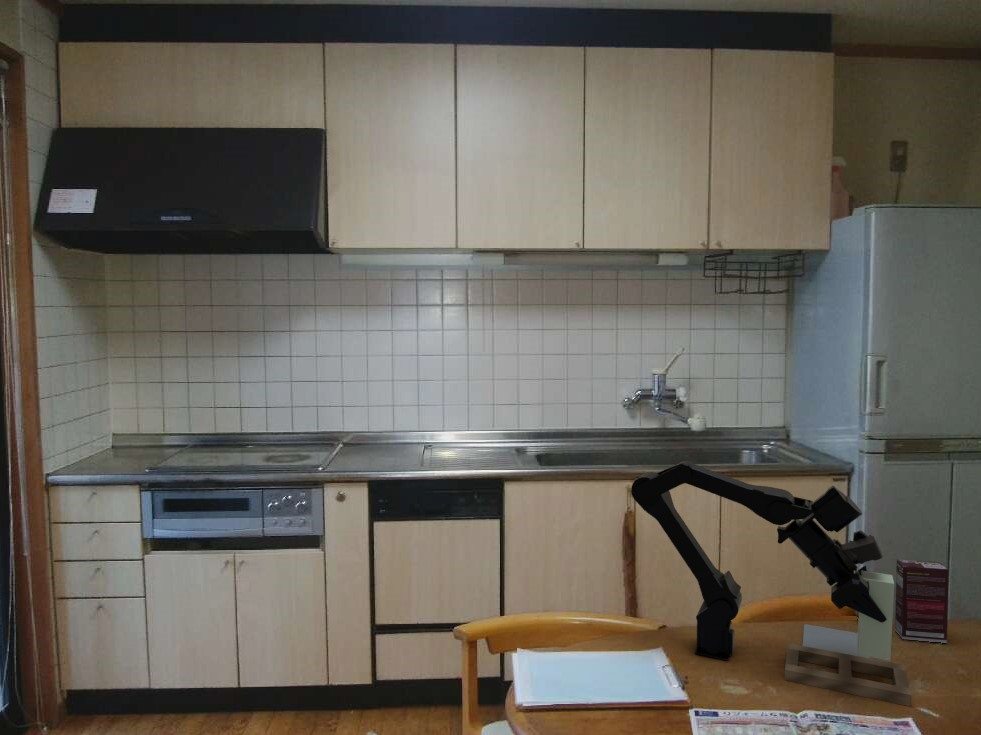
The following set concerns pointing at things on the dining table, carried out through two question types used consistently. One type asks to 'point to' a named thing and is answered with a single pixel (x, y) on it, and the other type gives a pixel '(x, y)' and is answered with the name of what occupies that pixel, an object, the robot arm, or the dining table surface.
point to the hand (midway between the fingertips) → (883, 615)
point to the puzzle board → (848, 674)
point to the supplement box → (921, 600)
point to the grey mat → (831, 640)
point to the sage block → (870, 631)
